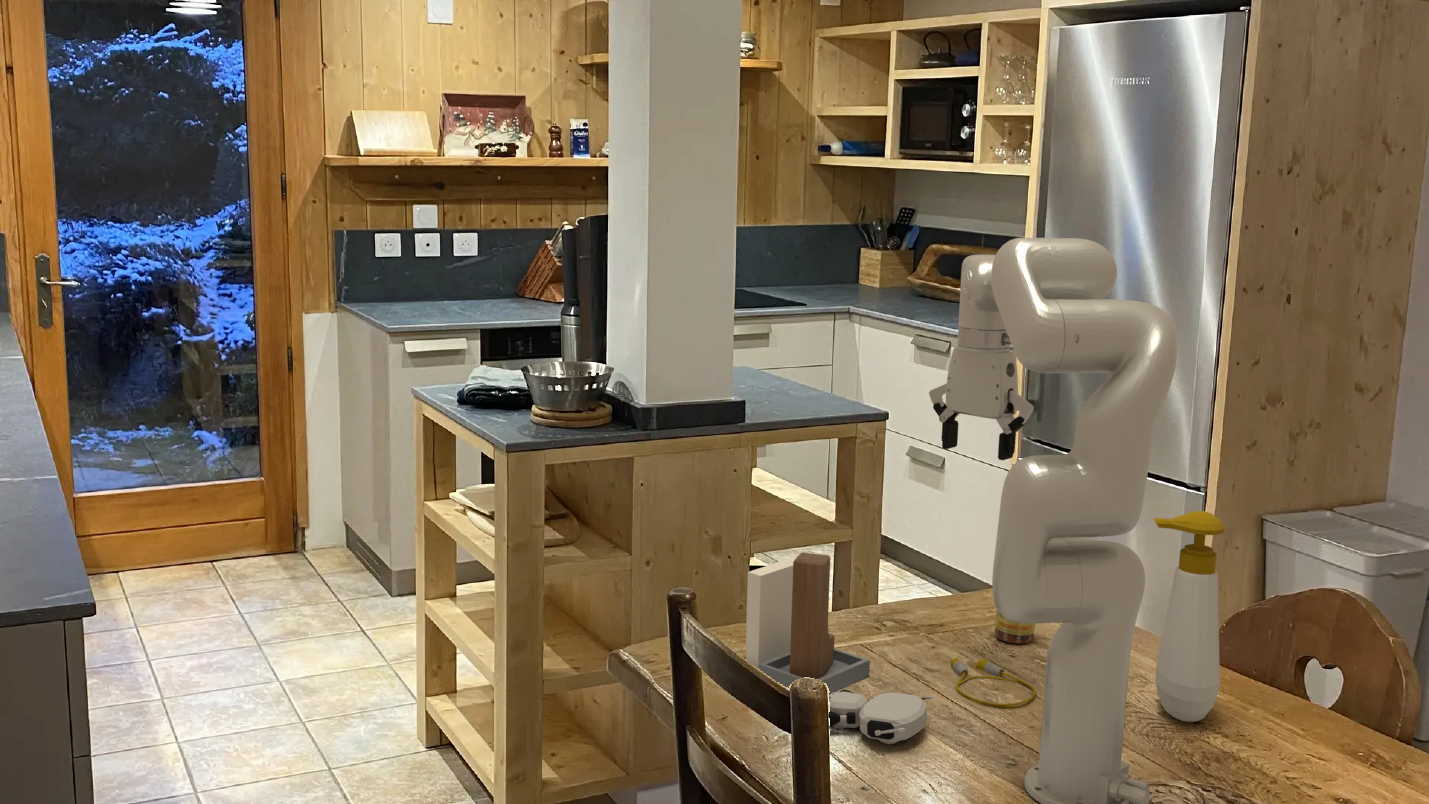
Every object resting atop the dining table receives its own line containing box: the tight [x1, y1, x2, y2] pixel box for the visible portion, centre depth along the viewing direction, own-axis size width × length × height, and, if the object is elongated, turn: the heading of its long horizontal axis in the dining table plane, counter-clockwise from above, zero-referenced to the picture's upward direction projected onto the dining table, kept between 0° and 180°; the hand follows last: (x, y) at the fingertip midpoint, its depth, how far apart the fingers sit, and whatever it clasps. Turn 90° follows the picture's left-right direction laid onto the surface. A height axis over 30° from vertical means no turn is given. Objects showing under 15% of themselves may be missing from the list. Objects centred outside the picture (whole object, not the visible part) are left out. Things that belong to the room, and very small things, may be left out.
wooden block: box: [790, 552, 835, 679], centre depth 196 cm, size 9×4×18 cm, turn 161°
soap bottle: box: [1153, 510, 1226, 723], centre depth 185 cm, size 13×10×29 cm
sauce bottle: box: [994, 609, 1036, 645], centre depth 213 cm, size 6×6×20 cm
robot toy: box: [828, 689, 935, 745], centre depth 180 cm, size 12×4×15 cm
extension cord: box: [950, 657, 1037, 709], centre depth 195 cm, size 12×16×2 cm
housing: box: [745, 559, 871, 694], centre depth 198 cm, size 16×13×15 cm
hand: (977, 453), depth 200 cm, fingers open, 9 cm apart
